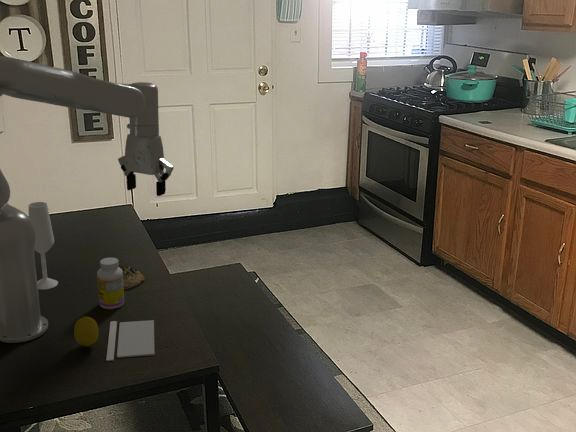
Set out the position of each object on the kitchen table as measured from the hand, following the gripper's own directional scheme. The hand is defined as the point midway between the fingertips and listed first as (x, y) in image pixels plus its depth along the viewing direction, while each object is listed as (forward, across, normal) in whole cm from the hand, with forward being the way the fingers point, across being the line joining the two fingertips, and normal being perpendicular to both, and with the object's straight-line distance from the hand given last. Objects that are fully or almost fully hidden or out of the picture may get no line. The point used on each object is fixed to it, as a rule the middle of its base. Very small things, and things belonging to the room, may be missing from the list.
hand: (146, 192), depth 170 cm
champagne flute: (+29, -26, -13) cm, 41 cm away
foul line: (+28, +10, -29) cm, 42 cm away
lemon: (+29, +7, -34) cm, 45 cm away
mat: (+28, +15, -26) cm, 41 cm away
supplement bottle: (+29, -2, -14) cm, 32 cm away
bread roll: (+29, -8, -1) cm, 30 cm away
